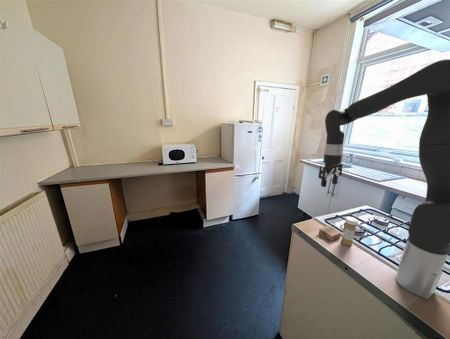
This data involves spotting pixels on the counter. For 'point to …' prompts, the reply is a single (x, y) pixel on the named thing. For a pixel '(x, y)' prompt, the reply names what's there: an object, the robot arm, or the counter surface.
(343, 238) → the sprinkles bottle
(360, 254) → the counter surface
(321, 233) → the walnut block
